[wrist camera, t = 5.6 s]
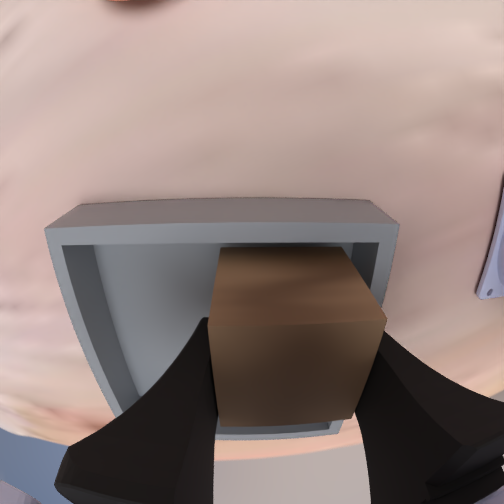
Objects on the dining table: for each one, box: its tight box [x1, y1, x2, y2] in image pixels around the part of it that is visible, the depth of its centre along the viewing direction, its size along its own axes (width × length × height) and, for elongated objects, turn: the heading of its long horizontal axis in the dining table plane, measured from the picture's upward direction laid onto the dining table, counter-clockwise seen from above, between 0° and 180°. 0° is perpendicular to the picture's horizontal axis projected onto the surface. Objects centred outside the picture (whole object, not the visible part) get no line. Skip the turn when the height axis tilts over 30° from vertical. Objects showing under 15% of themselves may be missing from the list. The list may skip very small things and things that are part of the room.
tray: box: [44, 198, 399, 440], centre depth 14 cm, size 13×13×3 cm
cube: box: [208, 247, 387, 427], centre depth 10 cm, size 4×4×4 cm
